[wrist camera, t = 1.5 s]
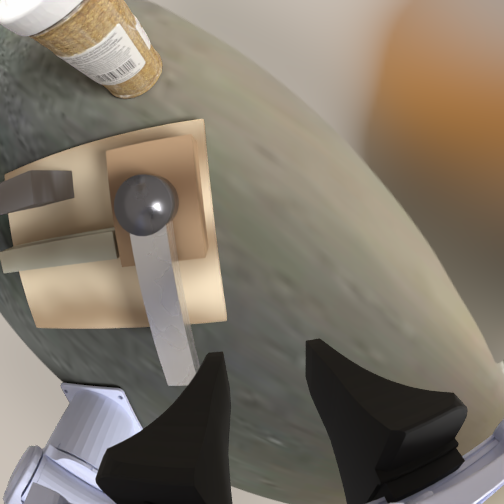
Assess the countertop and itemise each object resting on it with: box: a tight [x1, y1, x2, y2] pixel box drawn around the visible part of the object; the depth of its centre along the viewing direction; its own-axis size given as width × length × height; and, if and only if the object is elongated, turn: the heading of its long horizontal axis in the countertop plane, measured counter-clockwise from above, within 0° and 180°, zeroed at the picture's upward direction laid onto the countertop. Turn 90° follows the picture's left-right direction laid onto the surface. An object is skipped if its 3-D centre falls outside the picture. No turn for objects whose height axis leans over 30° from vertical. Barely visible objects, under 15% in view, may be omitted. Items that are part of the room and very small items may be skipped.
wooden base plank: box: [0, 119, 227, 329], centre depth 15 cm, size 14×18×6 cm
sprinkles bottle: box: [0, 0, 162, 99], centre depth 9 cm, size 5×5×13 cm
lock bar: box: [114, 174, 200, 386], centre depth 14 cm, size 12×3×2 cm, turn 5°
